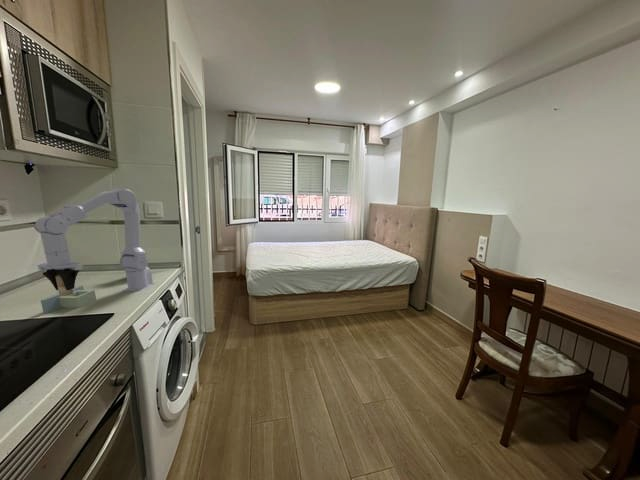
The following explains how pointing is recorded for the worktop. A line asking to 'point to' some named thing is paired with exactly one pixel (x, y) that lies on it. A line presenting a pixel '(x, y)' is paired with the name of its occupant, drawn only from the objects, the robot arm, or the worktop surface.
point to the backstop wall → (54, 301)
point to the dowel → (62, 287)
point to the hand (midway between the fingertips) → (65, 289)
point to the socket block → (77, 299)
